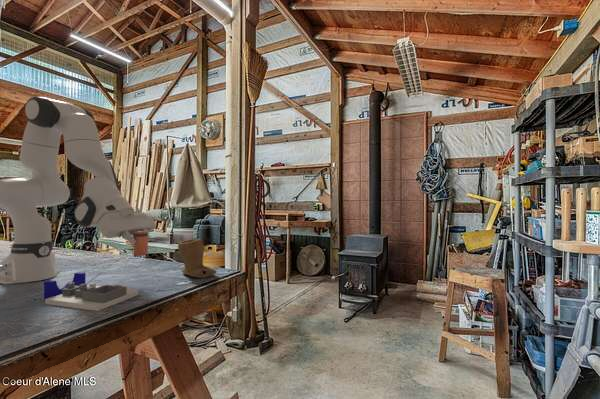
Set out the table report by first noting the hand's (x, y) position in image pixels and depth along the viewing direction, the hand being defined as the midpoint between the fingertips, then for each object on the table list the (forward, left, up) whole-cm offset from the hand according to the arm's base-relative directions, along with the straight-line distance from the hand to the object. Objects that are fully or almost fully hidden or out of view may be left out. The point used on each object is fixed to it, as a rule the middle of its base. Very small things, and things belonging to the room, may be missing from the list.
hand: (142, 241), depth 106 cm
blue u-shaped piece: (-22, -10, -17) cm, 30 cm away
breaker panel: (-8, -12, -17) cm, 22 cm away
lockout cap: (-1, 0, -4) cm, 4 cm away
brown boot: (+5, +23, -17) cm, 29 cm away
